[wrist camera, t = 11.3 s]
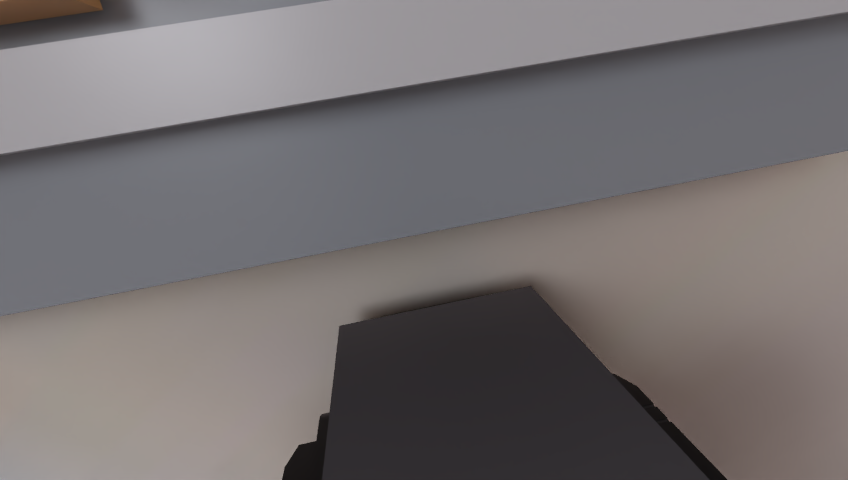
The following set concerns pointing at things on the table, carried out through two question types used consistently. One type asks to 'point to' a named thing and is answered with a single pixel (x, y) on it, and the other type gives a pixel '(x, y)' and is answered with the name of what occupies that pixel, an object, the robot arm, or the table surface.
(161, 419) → the table surface
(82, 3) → the shutter
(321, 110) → the socket block
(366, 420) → the plug
